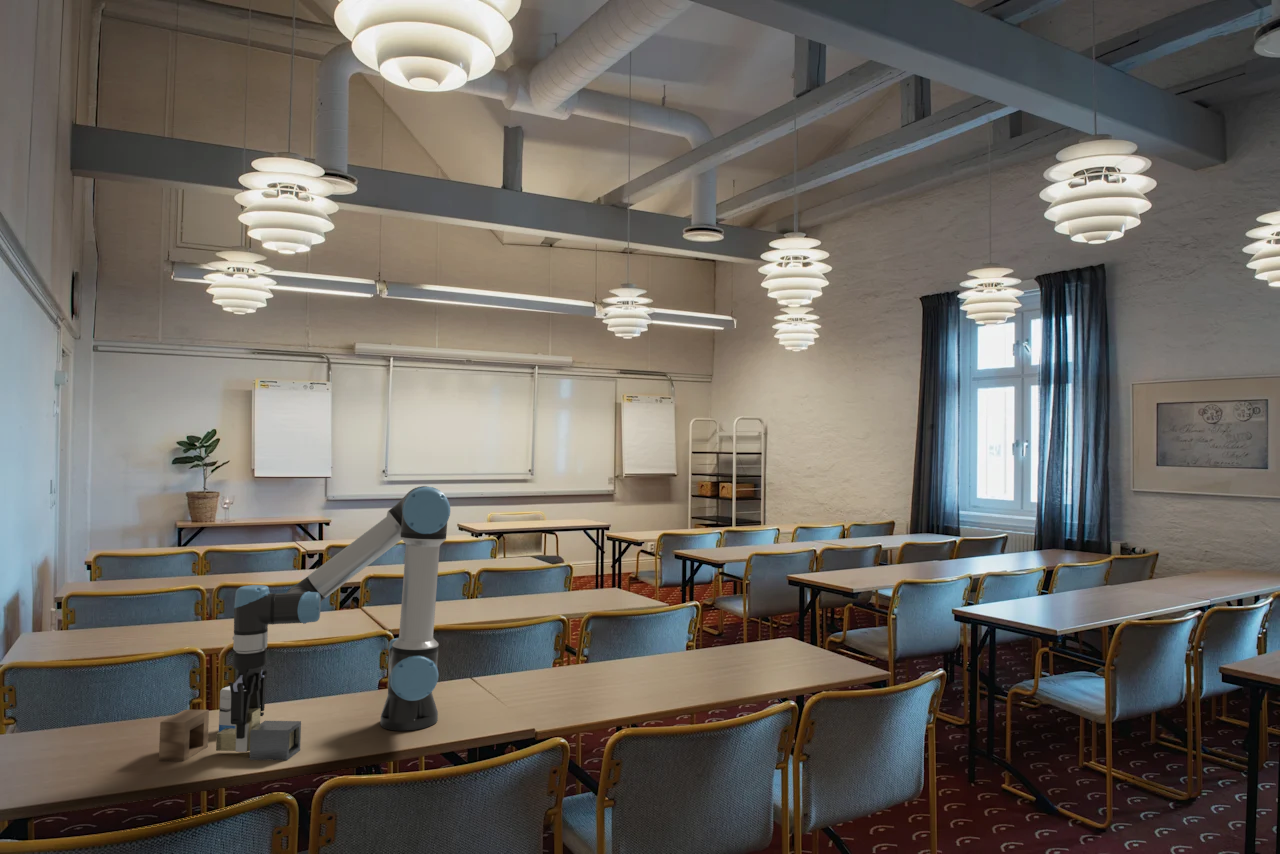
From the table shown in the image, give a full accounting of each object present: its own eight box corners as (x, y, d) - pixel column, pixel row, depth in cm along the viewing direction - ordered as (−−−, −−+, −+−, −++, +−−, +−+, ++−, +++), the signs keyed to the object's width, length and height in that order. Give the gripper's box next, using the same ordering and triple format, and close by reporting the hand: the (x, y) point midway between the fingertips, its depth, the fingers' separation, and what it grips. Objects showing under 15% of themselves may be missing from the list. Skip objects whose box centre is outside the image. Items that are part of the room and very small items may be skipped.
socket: (207, 746, 198) (209, 709, 199) (183, 761, 188) (185, 722, 189) (184, 746, 198) (185, 709, 199) (158, 760, 188) (160, 722, 189)
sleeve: (300, 750, 196) (301, 721, 196) (286, 760, 189) (287, 730, 189) (264, 749, 196) (265, 720, 197) (249, 759, 189) (250, 729, 190)
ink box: (234, 737, 205) (235, 690, 206) (217, 735, 206) (218, 689, 207) (256, 726, 214) (257, 682, 214) (240, 725, 215) (241, 681, 215)
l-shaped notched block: (293, 745, 195) (294, 708, 195) (285, 751, 191) (287, 713, 191) (225, 744, 195) (226, 707, 196) (216, 750, 191) (217, 712, 192)
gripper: (252, 642, 203) (249, 735, 202) (215, 658, 186) (211, 760, 185) (281, 642, 203) (279, 736, 201) (247, 658, 186) (243, 760, 184)
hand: (247, 747), depth 193 cm, fingers closed on l-shaped notched block, 4 cm apart
